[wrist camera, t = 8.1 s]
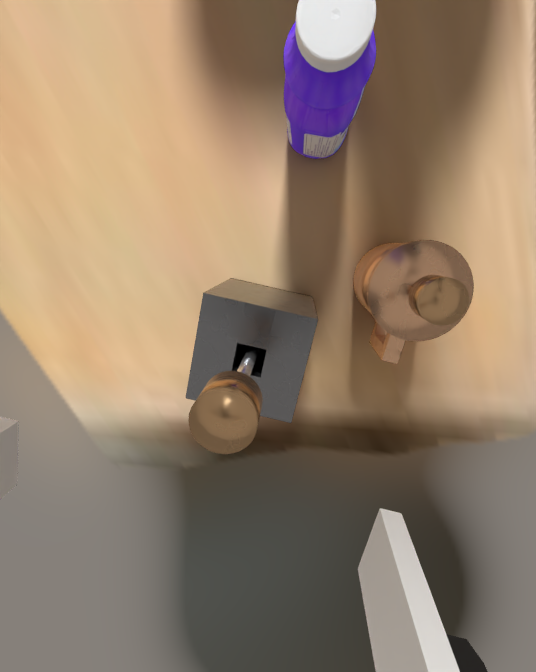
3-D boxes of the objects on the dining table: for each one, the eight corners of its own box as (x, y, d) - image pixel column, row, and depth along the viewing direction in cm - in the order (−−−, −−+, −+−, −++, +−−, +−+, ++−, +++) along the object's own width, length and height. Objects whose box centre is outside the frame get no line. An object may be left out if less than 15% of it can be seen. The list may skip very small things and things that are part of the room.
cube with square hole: (231, 278, 39) (203, 292, 28) (312, 296, 39) (318, 319, 27) (212, 379, 42) (180, 430, 31) (287, 396, 42) (282, 455, 31)
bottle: (337, 168, 36) (373, 102, 19) (281, 157, 36) (267, 81, 19) (357, 85, 34) (415, -70, 17) (297, 74, 34) (297, -91, 17)
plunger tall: (234, 294, 36) (168, 347, 18) (300, 309, 36) (302, 378, 18) (221, 357, 38) (150, 463, 20) (284, 371, 38) (272, 493, 20)
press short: (363, 233, 37) (403, 227, 23) (440, 250, 37) (528, 254, 23) (336, 330, 40) (357, 379, 26) (407, 347, 40) (468, 404, 26)
